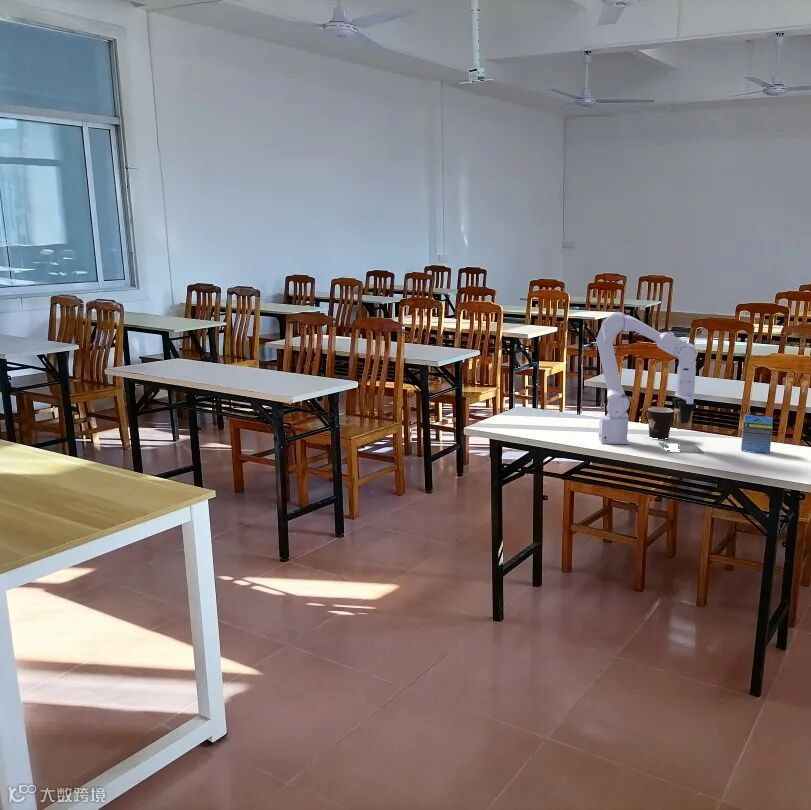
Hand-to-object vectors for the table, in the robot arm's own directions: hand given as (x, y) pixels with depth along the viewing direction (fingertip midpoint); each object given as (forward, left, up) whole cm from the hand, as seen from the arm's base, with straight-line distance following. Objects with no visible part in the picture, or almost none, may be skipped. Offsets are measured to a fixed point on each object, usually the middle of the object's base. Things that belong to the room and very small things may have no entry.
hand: (682, 421), depth 275 cm
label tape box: (+24, -1, -10) cm, 26 cm away
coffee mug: (-4, +16, -9) cm, 19 cm away
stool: (0, 0, -2) cm, 2 cm away
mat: (0, 0, -9) cm, 9 cm away
